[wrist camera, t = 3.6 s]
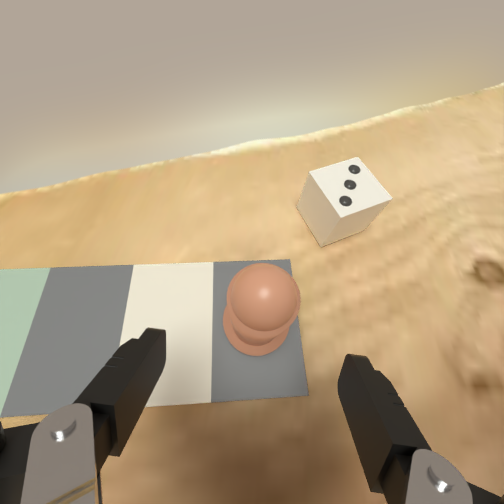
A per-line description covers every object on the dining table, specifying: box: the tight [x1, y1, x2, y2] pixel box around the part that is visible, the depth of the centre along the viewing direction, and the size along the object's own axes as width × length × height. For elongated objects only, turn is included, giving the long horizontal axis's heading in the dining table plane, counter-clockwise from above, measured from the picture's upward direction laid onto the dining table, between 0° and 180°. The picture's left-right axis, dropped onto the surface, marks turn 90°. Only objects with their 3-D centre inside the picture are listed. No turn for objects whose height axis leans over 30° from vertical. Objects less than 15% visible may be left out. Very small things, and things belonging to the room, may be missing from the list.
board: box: [0, 259, 309, 417], centre depth 18 cm, size 26×10×2 cm, turn 93°
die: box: [296, 157, 393, 247], centre depth 22 cm, size 5×5×5 cm
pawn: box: [223, 263, 300, 356], centre depth 14 cm, size 5×5×9 cm
